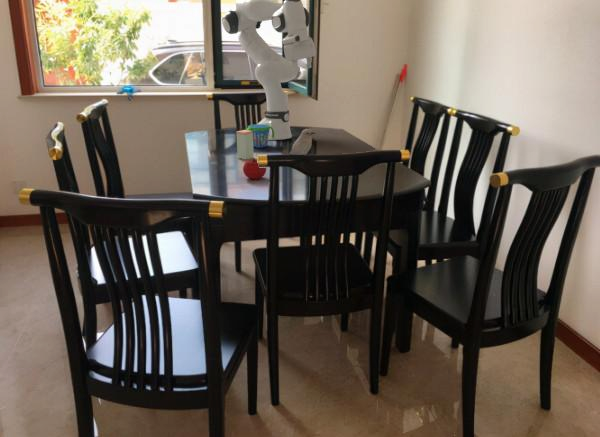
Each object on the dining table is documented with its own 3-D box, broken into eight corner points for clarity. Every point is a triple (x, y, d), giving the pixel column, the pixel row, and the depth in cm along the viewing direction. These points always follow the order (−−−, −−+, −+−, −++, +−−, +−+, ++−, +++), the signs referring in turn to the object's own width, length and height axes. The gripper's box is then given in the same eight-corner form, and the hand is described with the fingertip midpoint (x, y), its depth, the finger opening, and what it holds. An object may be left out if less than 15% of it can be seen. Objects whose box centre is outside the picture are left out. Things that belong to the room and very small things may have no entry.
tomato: (269, 180, 192) (268, 159, 189) (246, 182, 189) (245, 161, 187) (262, 174, 200) (262, 154, 197) (240, 176, 197) (239, 156, 194)
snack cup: (270, 143, 257) (270, 122, 253) (278, 147, 248) (278, 126, 244) (241, 146, 251) (240, 125, 247) (248, 150, 242) (247, 128, 238)
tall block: (237, 158, 226) (236, 131, 222) (245, 156, 230) (244, 129, 226) (246, 160, 223) (244, 132, 219) (253, 157, 227) (252, 130, 223)
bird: (313, 166, 210) (312, 130, 205) (284, 163, 216) (283, 128, 211) (318, 164, 214) (318, 128, 209) (289, 161, 220) (289, 126, 215)
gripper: (305, 36, 236) (310, 67, 240) (279, 40, 221) (285, 73, 225) (316, 34, 232) (321, 65, 237) (291, 38, 217) (297, 71, 221)
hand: (303, 69), depth 231 cm, fingers open, 8 cm apart
